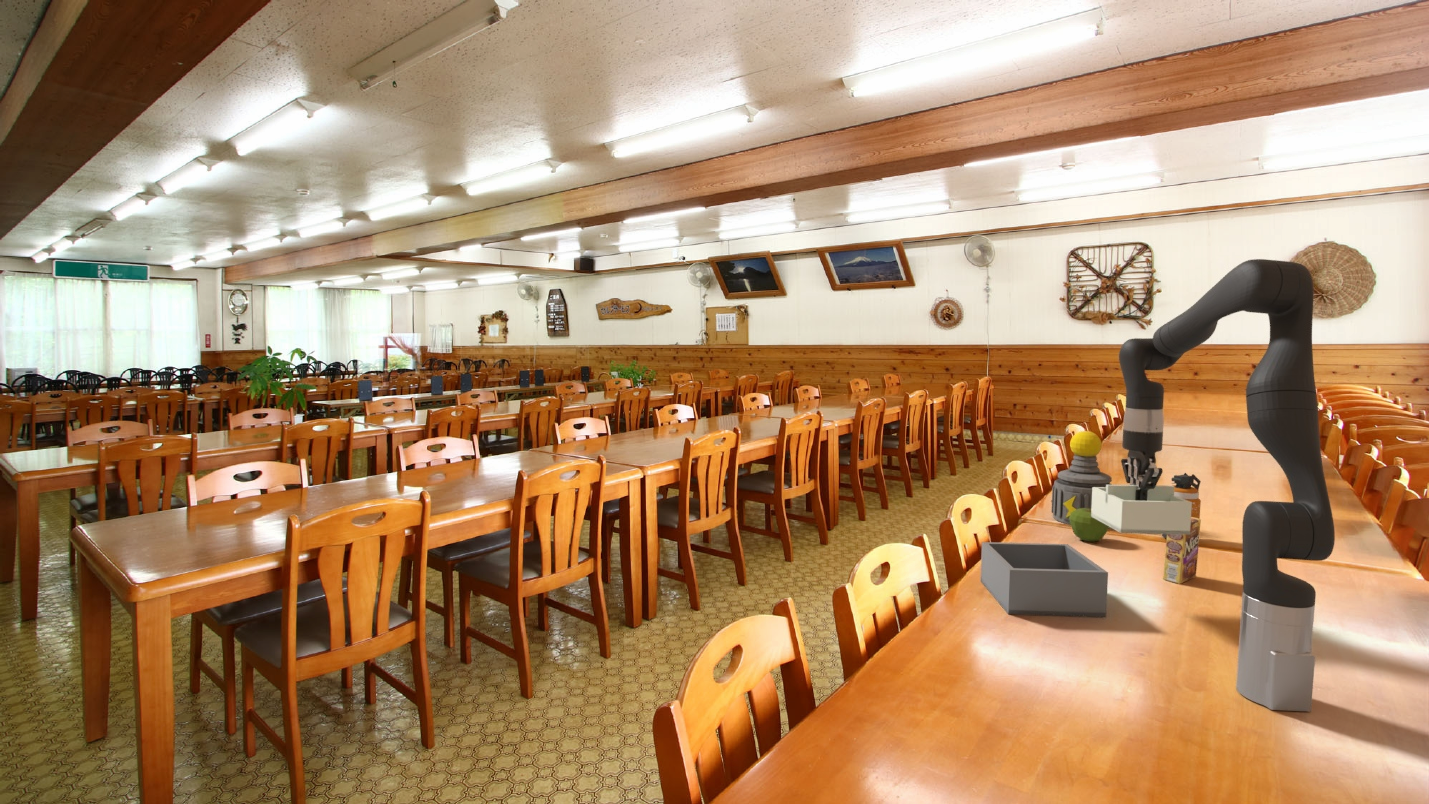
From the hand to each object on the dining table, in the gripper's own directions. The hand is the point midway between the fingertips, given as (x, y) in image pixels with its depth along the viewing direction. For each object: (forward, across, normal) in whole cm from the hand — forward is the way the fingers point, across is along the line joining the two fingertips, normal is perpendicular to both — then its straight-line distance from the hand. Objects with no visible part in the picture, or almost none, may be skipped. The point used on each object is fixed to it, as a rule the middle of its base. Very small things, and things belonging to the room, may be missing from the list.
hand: (1138, 505), depth 151 cm
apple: (+23, +50, -12) cm, 56 cm away
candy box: (+23, +18, -20) cm, 36 cm away
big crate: (+23, +2, +20) cm, 30 cm away
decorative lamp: (+23, +73, -20) cm, 79 cm away
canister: (+23, +53, -40) cm, 70 cm away
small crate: (+5, 0, 0) cm, 5 cm away
